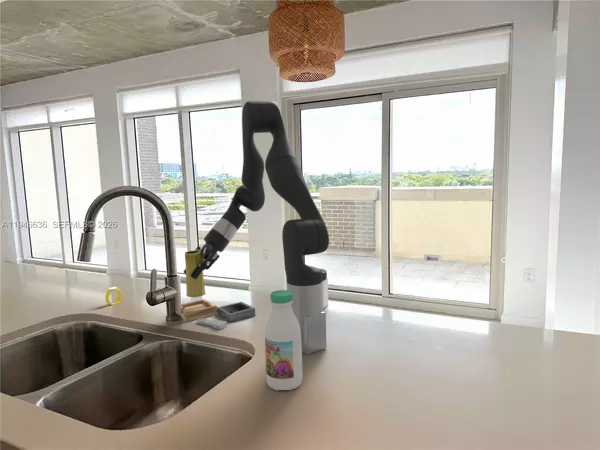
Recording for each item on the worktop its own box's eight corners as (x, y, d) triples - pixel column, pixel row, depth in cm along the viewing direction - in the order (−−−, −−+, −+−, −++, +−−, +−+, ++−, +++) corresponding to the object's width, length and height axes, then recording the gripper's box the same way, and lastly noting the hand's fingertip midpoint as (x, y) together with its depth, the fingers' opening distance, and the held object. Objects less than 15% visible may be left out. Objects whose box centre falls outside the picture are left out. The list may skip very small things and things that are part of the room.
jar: (333, 305, 138) (332, 271, 136) (315, 311, 132) (314, 275, 131) (315, 300, 144) (314, 266, 143) (297, 305, 139) (296, 270, 138)
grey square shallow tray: (255, 315, 131) (255, 308, 130) (229, 322, 125) (229, 314, 125) (241, 308, 138) (241, 301, 137) (217, 314, 132) (216, 307, 132)
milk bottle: (283, 370, 93) (280, 285, 91) (309, 380, 88) (307, 291, 86) (259, 384, 87) (255, 294, 85) (286, 396, 83) (282, 300, 80)
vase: (182, 297, 132) (179, 253, 130) (192, 291, 138) (189, 249, 136) (199, 298, 130) (196, 254, 128) (209, 292, 136) (206, 250, 134)
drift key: (226, 326, 122) (226, 322, 122) (220, 329, 119) (219, 325, 119) (202, 320, 128) (202, 316, 127) (195, 323, 125) (195, 318, 125)
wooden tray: (219, 313, 133) (218, 306, 133) (186, 321, 127) (186, 313, 127) (205, 305, 142) (205, 298, 142) (174, 312, 136) (174, 305, 136)
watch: (110, 307, 145) (108, 291, 143) (105, 306, 146) (102, 290, 145) (124, 301, 150) (121, 285, 149) (118, 300, 151) (116, 285, 150)
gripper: (204, 226, 141) (172, 265, 136) (222, 230, 130) (189, 273, 124) (219, 239, 145) (189, 278, 140) (238, 244, 134) (206, 287, 128)
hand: (189, 275), depth 132 cm, fingers closed on vase, 5 cm apart
